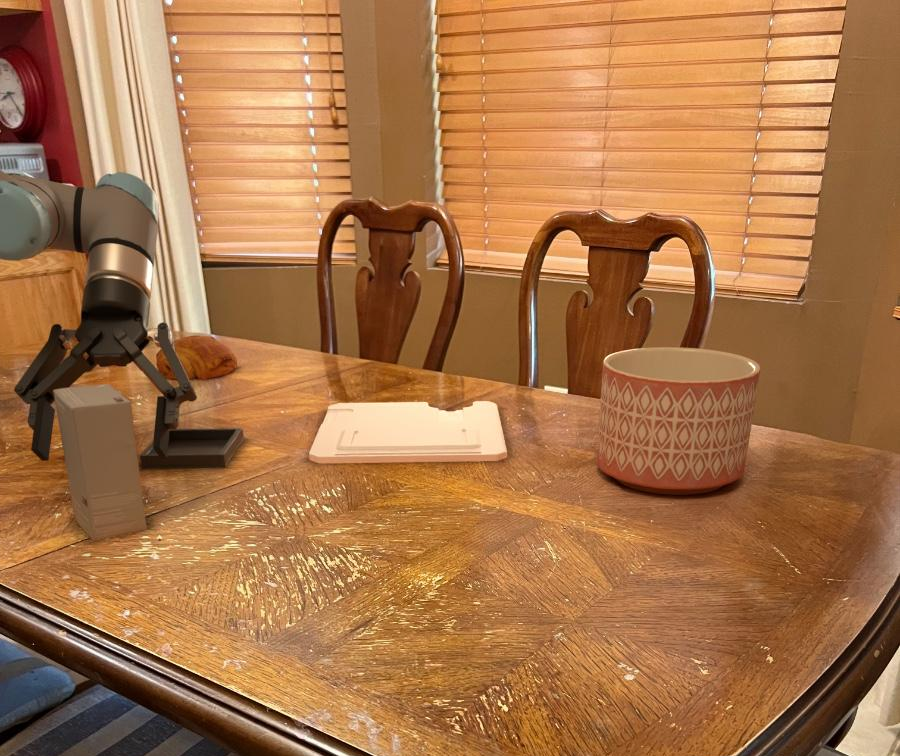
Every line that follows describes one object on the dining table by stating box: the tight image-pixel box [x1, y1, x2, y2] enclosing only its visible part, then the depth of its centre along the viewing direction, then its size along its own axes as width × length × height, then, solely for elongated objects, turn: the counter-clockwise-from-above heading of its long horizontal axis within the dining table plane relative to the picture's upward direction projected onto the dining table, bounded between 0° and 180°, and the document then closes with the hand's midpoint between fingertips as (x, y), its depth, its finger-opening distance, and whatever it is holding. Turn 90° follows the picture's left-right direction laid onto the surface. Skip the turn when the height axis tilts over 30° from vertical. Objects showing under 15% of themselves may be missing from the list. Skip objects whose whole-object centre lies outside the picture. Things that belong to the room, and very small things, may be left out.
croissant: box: [155, 335, 238, 381], centre depth 168 cm, size 14×16×8 cm
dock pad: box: [139, 427, 245, 470], centre depth 124 cm, size 12×13×2 cm
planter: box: [595, 346, 761, 496], centre depth 112 cm, size 19×19×15 cm
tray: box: [308, 400, 508, 464], centre depth 132 cm, size 28×28×2 cm
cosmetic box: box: [53, 383, 148, 542], centre depth 98 cm, size 8×7×16 cm
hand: (99, 454), depth 97 cm, fingers open, 13 cm apart
